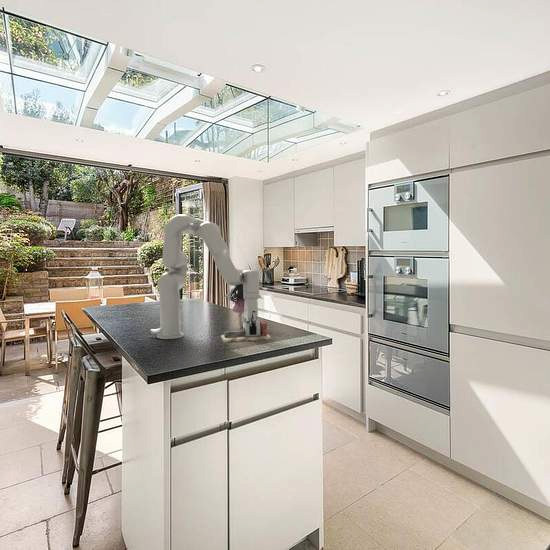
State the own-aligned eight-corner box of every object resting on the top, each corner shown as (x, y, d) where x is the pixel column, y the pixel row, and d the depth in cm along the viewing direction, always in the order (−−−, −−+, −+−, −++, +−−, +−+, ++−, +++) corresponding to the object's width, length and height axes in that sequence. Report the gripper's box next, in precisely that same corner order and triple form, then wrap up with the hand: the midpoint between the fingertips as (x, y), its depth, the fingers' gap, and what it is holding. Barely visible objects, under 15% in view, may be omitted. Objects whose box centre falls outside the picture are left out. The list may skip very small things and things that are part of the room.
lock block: (245, 336, 172) (245, 323, 172) (243, 333, 178) (243, 321, 177) (260, 335, 174) (260, 322, 174) (257, 332, 180) (257, 320, 179)
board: (224, 342, 167) (224, 326, 167) (220, 337, 177) (220, 322, 176) (270, 339, 173) (270, 323, 173) (265, 334, 183) (265, 320, 183)
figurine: (264, 326, 204) (264, 272, 203) (262, 330, 194) (261, 273, 192) (224, 326, 206) (224, 272, 205) (220, 329, 196) (219, 273, 195)
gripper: (239, 294, 182) (240, 330, 183) (247, 297, 166) (247, 337, 166) (254, 293, 184) (254, 329, 185) (263, 297, 168) (263, 336, 169)
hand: (251, 332), depth 176 cm, fingers closed on lock block, 6 cm apart
